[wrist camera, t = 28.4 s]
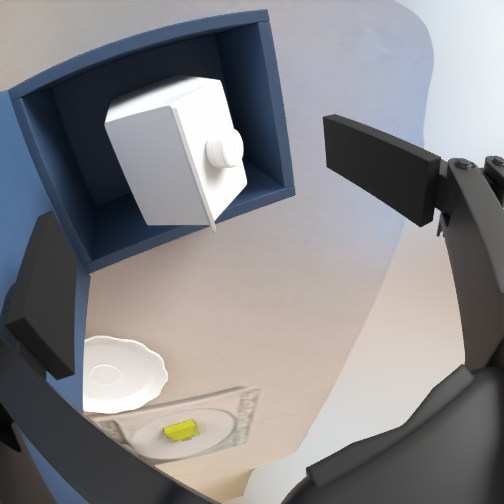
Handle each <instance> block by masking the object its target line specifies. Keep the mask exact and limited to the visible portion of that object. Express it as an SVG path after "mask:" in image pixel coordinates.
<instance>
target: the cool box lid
mask: <svg viewBox="0 0 504 504" xmlns="http://www.w3.org/2000/svg"><path fill="white" fill-rule="evenodd" d="M51 210H52V211H53V213H54V215H55V217H56V219H57V221H58V223H59V225H60V226H61V228H62V230H63V232H64V234H65V236H66V238H67V240H68V242H69V243H70V245H71V247H72V249H73V251H74V253H75V254H76V256H77V258H78V267H77V280H76V296H75V329H74V348H75V375H72V376H69V377H66V378H63V379H60V380H56V379H55V378H54V377H53V376H52V375H51V374H50V373H49V372H48V371H47V372H46V381H47V382H48V383H49V384H50V385H51V386H52V387H53V388H54V389H56V390H57V391H58V392H59V393H60V394H61V395H62V396H63V397H64V398H65V399H66V400H68V401H69V402H70V403H71V404H72V405H73V406H74V407H76V408H77V409H78V410H79V411H80V412H81V413H83V361H84V340H85V326H86V314H87V303H88V294H89V285H90V275H89V273H88V272H87V270H86V268H85V267H84V265H83V263H82V261H81V259H80V258H79V256H78V254H77V252H76V250H75V249H74V247H73V245H72V243H71V241H70V239H69V237H68V235H67V234H66V232H65V230H64V228H63V226H62V224H61V222H60V220H59V218H58V216H57V214H56V212H55V210H54V208H53V205H52V203H51V201H50V199H49V197H48V195H47V193H46V190H45V188H44V186H43V184H42V182H41V179H40V177H39V175H38V172H37V170H36V168H35V165H34V163H33V160H32V158H31V155H30V153H29V150H28V148H27V145H26V143H25V140H24V137H23V135H22V132H21V129H20V126H19V124H18V121H17V118H16V115H15V112H14V109H13V106H12V103H11V99H10V96H9V93H8V90H5V91H2V92H0V315H2V314H1V311H2V307H3V303H4V300H5V296H6V294H7V292H8V291H9V289H10V287H11V286H12V284H14V283H15V282H16V279H17V275H18V272H19V269H20V266H21V262H22V259H23V256H24V253H25V250H26V248H27V245H28V242H29V239H30V236H31V234H32V231H33V228H34V226H35V223H36V220H37V218H38V216H40V215H42V214H44V213H46V212H49V211H51ZM19 430H20V432H21V434H22V437H23V439H24V441H25V443H26V445H27V448H28V450H29V452H30V454H31V456H32V458H33V460H34V462H35V464H36V466H37V468H38V470H39V472H40V474H41V476H42V477H43V479H44V481H45V483H46V485H47V486H48V488H49V490H50V492H51V493H52V495H53V497H54V498H55V500H56V502H57V503H58V504H90V503H89V502H87V501H86V500H85V499H84V498H83V497H82V496H81V495H80V494H79V493H78V492H77V491H76V490H75V489H74V488H73V487H72V486H70V485H69V484H68V483H67V482H66V481H65V480H64V479H63V478H62V476H61V475H60V474H59V473H58V472H57V471H56V470H55V469H54V468H53V467H52V466H51V465H50V464H49V463H48V462H47V460H46V459H45V458H44V457H43V456H42V455H41V454H40V453H39V451H38V450H37V449H36V448H35V447H34V446H33V444H32V443H31V442H30V441H29V439H28V438H27V437H26V436H25V435H24V433H23V432H22V431H21V429H20V428H19Z"/></svg>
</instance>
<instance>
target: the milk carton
mask: <svg viewBox="0 0 504 504" xmlns="http://www.w3.org/2000/svg"><path fill="white" fill-rule="evenodd" d="M104 124H105V128H106V131H107V134H108V136H109V139H110V141H111V144H112V146H113V149H114V151H115V153H116V156H117V158H118V161H119V163H120V166H121V168H122V170H123V173H124V175H125V177H126V180H127V182H128V184H129V186H130V189H131V191H132V193H133V196H134V198H135V200H136V202H137V204H138V207H139V209H140V211H141V213H142V215H143V218H144V220H145V222H146V223H147V225H209V226H210V227H211V229H212V231H213V232H214V234H215V233H217V228H216V225H215V222H214V221H215V220H216V219H217V218H218V216H219V215H220V214H221V213H222V212H223V211H224V210H225V209H226V207H227V206H228V205H229V204H230V203H231V202H232V201H233V200H234V198H235V197H236V196H237V195H238V194H239V193H240V192H241V191H242V190H243V188H244V187H245V186H246V185H247V179H246V175H245V170H244V166H243V162H242V156H243V142H242V138H241V136H240V134H239V132H238V131H237V130H235V129H234V128H233V124H232V120H231V116H230V112H229V109H228V105H227V101H226V98H225V94H224V90H223V87H222V84H221V82H220V80H215V79H209V78H201V77H194V76H185V75H174V76H171V77H168V78H166V79H163V80H160V81H157V82H154V83H152V84H149V85H146V86H144V87H141V88H139V89H136V90H134V91H131V92H129V93H126V94H124V95H121V96H119V97H117V98H114V99H112V100H111V102H110V105H109V109H108V113H107V116H106V120H105V123H104Z"/></svg>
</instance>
